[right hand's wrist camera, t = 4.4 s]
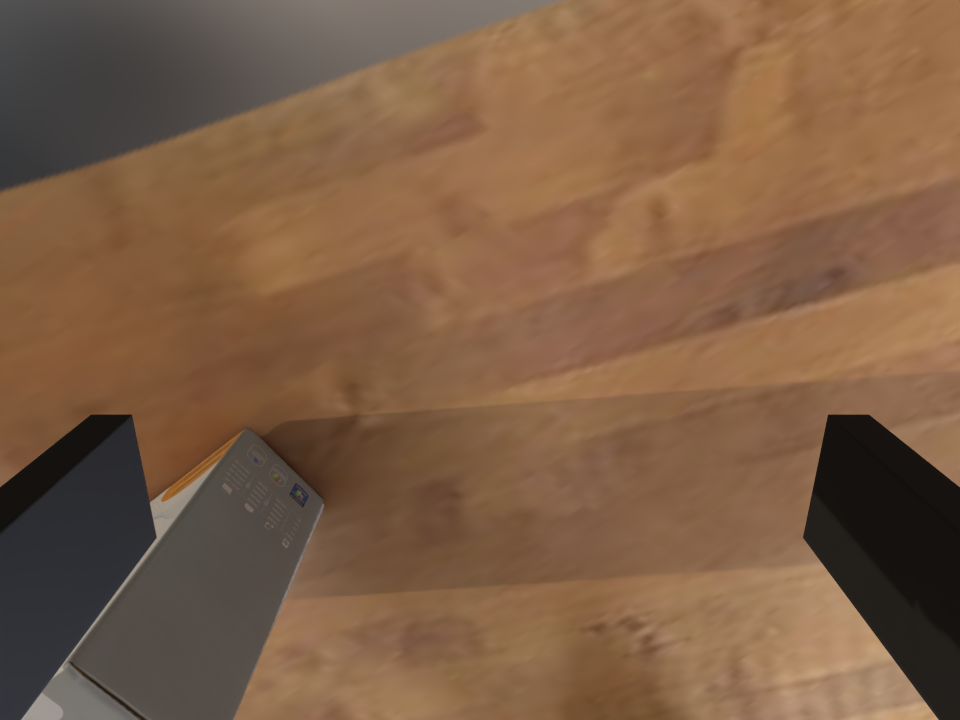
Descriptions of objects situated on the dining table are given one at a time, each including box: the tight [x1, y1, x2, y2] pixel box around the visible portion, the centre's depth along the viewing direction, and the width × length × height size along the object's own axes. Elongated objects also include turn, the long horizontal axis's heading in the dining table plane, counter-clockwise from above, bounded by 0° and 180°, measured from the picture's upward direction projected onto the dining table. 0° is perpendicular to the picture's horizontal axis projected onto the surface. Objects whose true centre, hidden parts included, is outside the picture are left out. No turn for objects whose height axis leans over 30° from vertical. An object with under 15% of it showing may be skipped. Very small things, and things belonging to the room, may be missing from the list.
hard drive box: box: [21, 428, 324, 720], centre depth 37 cm, size 16×8×20 cm, turn 128°
